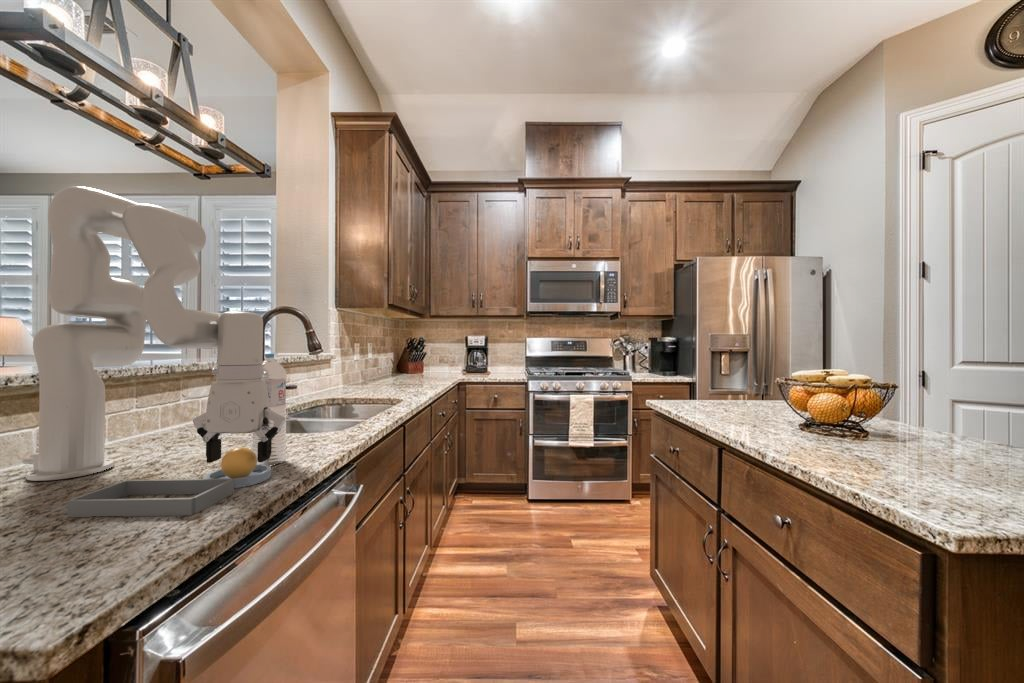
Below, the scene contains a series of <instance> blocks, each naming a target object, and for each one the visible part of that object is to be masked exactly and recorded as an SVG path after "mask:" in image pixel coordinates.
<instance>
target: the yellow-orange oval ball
mask: <svg viewBox="0 0 1024 683" xmlns="http://www.w3.org/2000/svg"><path fill="white" fill-rule="evenodd" d="M256 465H257V456H256V454H255V453H254V451H252V450H251V448H249V447H246V446H239V447H235V448H231V449H230V450H229V451H227V452H226V453H225V454H224V456H223V457H221V461H220V469H221V470H222V472H223V473H224V474H225V475H226V476H227V477H229V478H233V479H235V478H242V477H246V476H247V475H249V474H250V473H251V472H252V471H253V470H254V469H255V467H256Z"/></svg>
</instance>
